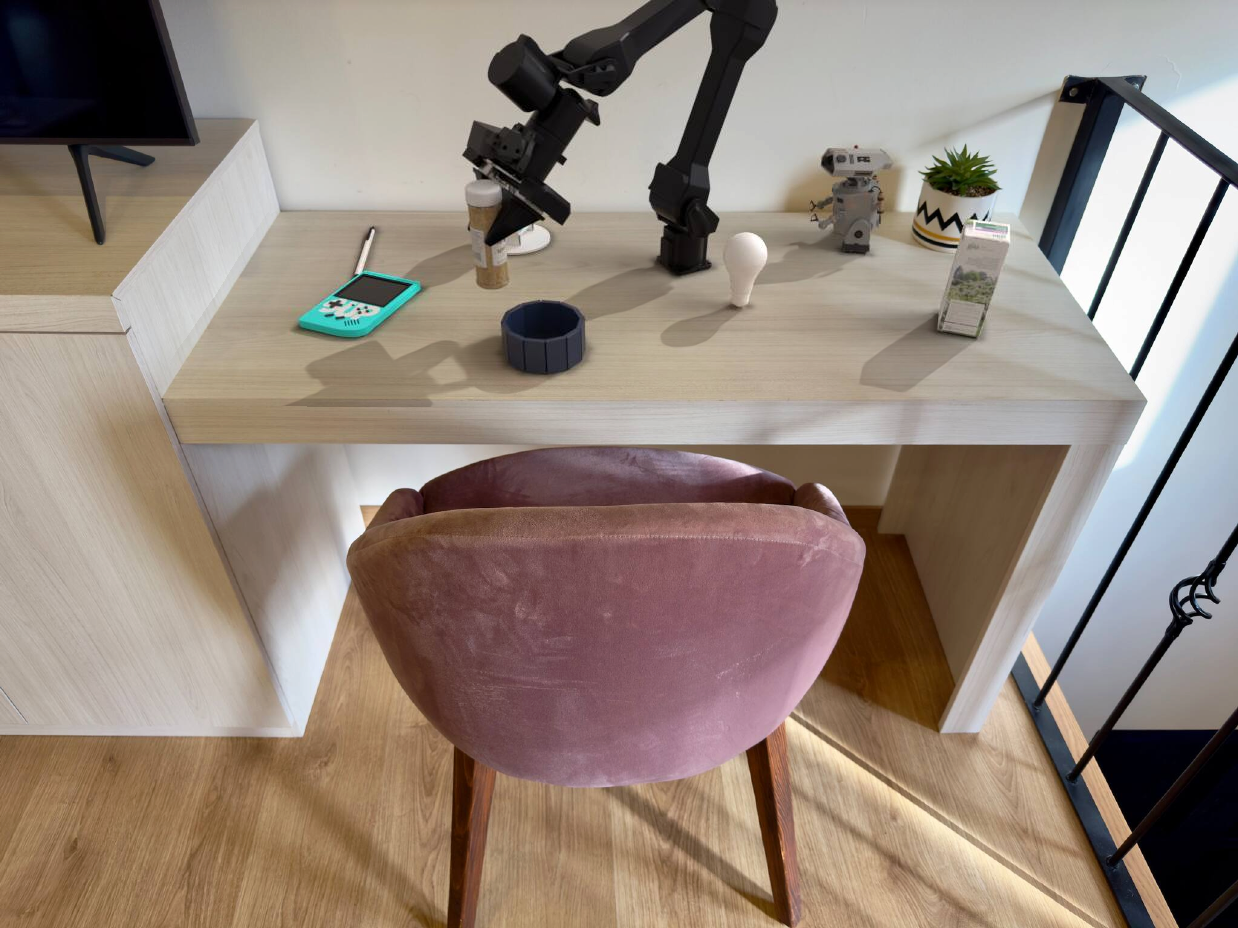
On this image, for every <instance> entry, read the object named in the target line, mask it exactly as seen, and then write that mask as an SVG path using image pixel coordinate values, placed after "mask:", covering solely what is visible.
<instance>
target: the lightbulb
mask: <svg viewBox="0 0 1238 928" xmlns="http://www.w3.org/2000/svg"><path fill="white" fill-rule="evenodd" d="M766 245H767V244H765V241H763V239H762V238H761V237H760V236H758V235H757V234H755V233H752V232H749V231H744V232H739V233H737V234H735V235H733V236H732V237H730V238H729V239H728V240H727V241H726V243H725V245H724V247H723V252H722V261H723V264H724V266H725V269H726V271H727V273H728V276H729V282H730V283H729V287H730V291H731V293H730V294H731V296H730V301H731V303H732V305H735V306H736V307H738V308H742V307H744V306H746V305H748V303H749V301H750V298H751V297H750V295H751V292H752V291H753V288H754V284H755V281H756V278H757V277H758V275H759V274H760V273H761V271H762V270H763V268H764V267H765V265H766V263H767V260H768V248H767V246H766Z"/></svg>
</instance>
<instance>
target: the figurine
mask: <svg viewBox="0 0 1238 928" xmlns="http://www.w3.org/2000/svg"><path fill="white" fill-rule="evenodd" d="M820 158H821V159H820V167H821V168H822V169H823V170H824V171H825V172H826V173H827V174H828V175H829V176H830V177H832V178H846V179H844V180H840V181H838V182H834V183H833V184H832V187H831V193H832V196H831V195H827V196H826V197H825V198H824V199H823V200H821V199H820V200H818V201H817V203H814V201H813V200H812V199H811V200H810V202H809V205H811V204H812V208H809V210H810V212H813V211H814V209H815V208H817V209H818V210H821V211H822V210H823V209H824V208H825V207H827V206H829V205H832V214H830V215H829V216H828V218H826V219H825V220H821V219H820V218H818V216H817V213H814V214H813V215H812V216H811V217H810V220H809V221H810V223H813V222H817V223H818V225H817V227H818V229H820V230H821V231H824V230H825V229H827V227H828V226H830V225H831V224H832V227H833V230H834V233H837V234H841V235H844V240H843V241H842V243H841V246H840V248H841V251H842V252H843V253H850V254H852V253H853V252H856V253H857V254H861V253H862V254H864V255H865V254H866V253H868V252H870V250H871V249H870V247H871V245H870V242H871V241H870V240H871V233H872V232H874V231H875V230H877V229H879V227H880V225H881V224H882V215H883V214H884V213H885V209H884V208H885V205H884V204H885V202H884V201H885V193H884V191H882V189H881V188H880V186H879V176H878V175H877V174H878V173H880V172H881V171H882V170H890V169H891V168H892V166H893V164H894V161H893V159H892V158H891V156H889V154H888V153H887V152H885V150H883V149H882V148H859V144H855V145H854V147H853V148H852V147H851V148H848V147H847V148H846V147H843V148H841V147H828V148H827V149H826V150H825V152H824V153H823V154H822V155H821V157H820ZM814 217H815V218H814ZM813 218H814V219H813Z"/></svg>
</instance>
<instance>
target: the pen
mask: <svg viewBox="0 0 1238 928" xmlns="http://www.w3.org/2000/svg"><path fill="white" fill-rule="evenodd" d="M375 232H376V230H375V226H374V225H372V227H371V226H370V227H369V229H368V232H367V234H366V238H365V241H364V245H363V248H362V251H361V254H360V258H359V260H358V263H357V266H356V269H355V272H354V275H353V278H355V277H356V276H357V275H359V274H360V273H362V272H363V271H364V266H365V264H366V260H367V258H368V254H369V252H370V248H371V245H372V242H373V238H374V236H375Z"/></svg>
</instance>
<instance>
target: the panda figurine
mask: <svg viewBox="0 0 1238 928" xmlns="http://www.w3.org/2000/svg"><path fill="white" fill-rule="evenodd" d="M506 189H507V190H508V191H510V192H511V193H513V194H515V192H516V191H517V189H515V188H514V187H512V186H511V185H509V184H508V185H507V187H506ZM550 241H551V234H550V232H549V231H548V230H547V229H546V228H545V227H543V226H540V225H538V224H535V223H533V224H531V225H529V226H527V227H525V228H523V229H521V230H519V231H517V232H515V233H514V234H512V235H510V236H508V237H507V238H505V242H506V252H507V256H510V255H511V256H517V255H518V256H519V255H526V254H531V253H535V252H538V251H540V250H542V249H544V248H545V247H547V246H548V245H549V243H550Z"/></svg>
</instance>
